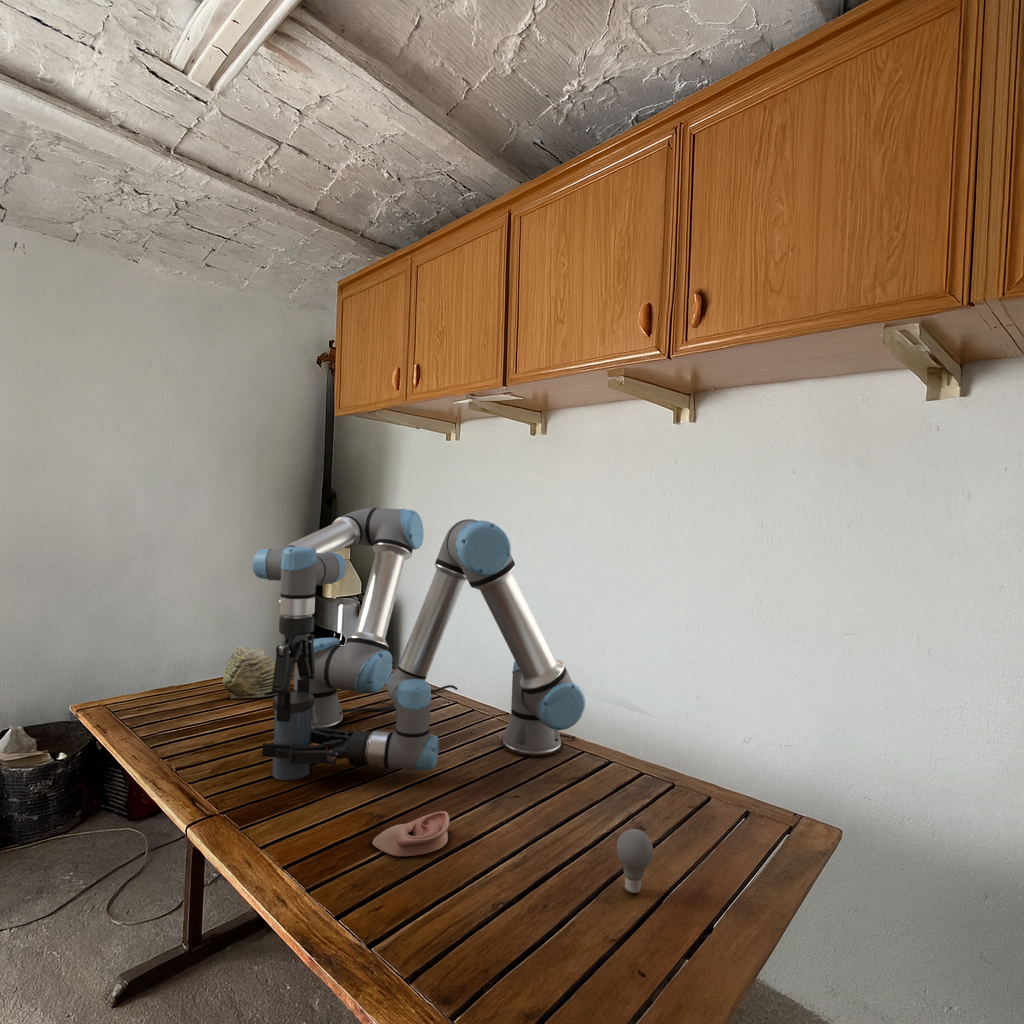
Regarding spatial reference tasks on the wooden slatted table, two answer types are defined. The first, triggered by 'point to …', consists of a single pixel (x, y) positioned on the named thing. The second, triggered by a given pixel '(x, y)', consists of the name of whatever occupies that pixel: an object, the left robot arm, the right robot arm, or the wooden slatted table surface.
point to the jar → (294, 734)
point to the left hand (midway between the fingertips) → (293, 713)
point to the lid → (298, 701)
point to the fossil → (249, 673)
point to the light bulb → (634, 857)
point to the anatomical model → (415, 836)
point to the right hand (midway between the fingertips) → (271, 742)
